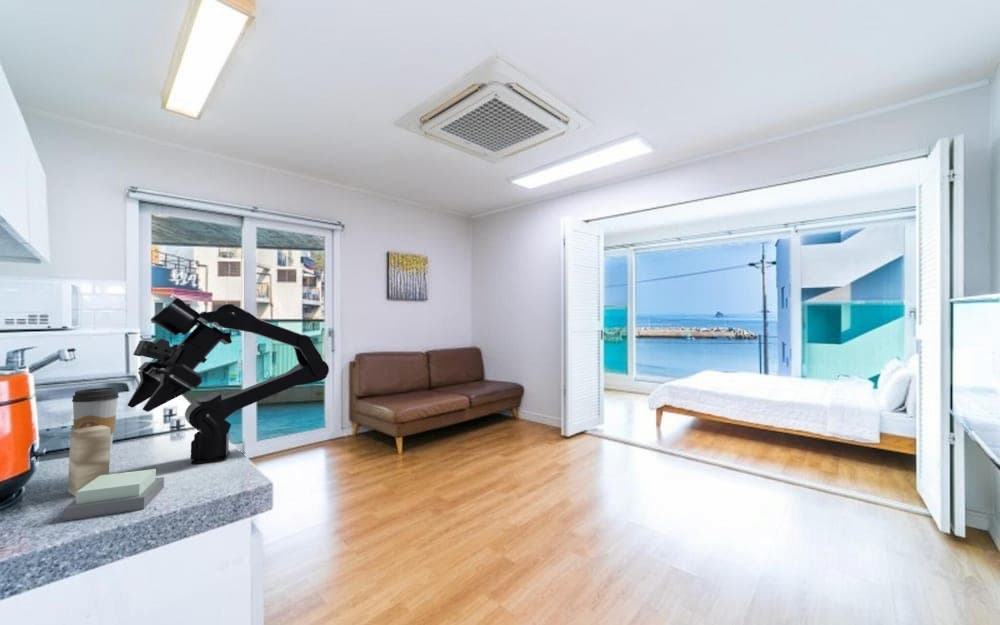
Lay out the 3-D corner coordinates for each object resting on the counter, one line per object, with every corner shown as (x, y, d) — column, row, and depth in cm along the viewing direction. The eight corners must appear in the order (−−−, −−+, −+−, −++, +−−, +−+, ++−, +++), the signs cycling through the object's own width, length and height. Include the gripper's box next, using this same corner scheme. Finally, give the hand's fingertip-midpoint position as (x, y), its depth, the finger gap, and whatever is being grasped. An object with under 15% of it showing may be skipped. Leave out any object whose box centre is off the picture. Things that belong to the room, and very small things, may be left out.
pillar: (99, 483, 79) (102, 425, 79) (108, 488, 77) (110, 427, 77) (67, 491, 75) (70, 429, 75) (75, 496, 73) (78, 433, 73)
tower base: (163, 487, 77) (164, 466, 77) (144, 508, 68) (144, 485, 68) (94, 496, 73) (95, 474, 73) (63, 520, 64) (64, 495, 64)
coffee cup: (62, 457, 94) (64, 393, 95) (78, 448, 102) (81, 388, 102) (109, 452, 98) (111, 391, 99) (122, 443, 106) (124, 386, 106)
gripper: (146, 326, 92) (83, 384, 83) (179, 324, 82) (111, 390, 73) (190, 355, 99) (136, 411, 90) (225, 357, 89) (168, 420, 80)
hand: (137, 408), depth 83 cm, fingers open, 9 cm apart
